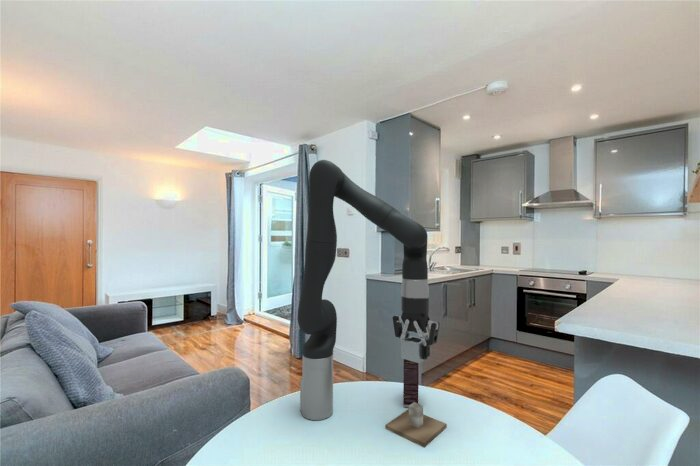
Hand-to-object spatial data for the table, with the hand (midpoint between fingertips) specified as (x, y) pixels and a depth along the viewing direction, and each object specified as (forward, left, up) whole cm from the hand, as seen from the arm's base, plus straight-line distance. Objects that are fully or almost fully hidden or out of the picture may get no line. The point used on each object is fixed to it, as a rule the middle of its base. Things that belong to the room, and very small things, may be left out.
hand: (415, 356), depth 88 cm
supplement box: (-9, +12, -20) cm, 25 cm away
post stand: (0, 0, -19) cm, 19 cm away
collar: (0, 0, -1) cm, 1 cm away
